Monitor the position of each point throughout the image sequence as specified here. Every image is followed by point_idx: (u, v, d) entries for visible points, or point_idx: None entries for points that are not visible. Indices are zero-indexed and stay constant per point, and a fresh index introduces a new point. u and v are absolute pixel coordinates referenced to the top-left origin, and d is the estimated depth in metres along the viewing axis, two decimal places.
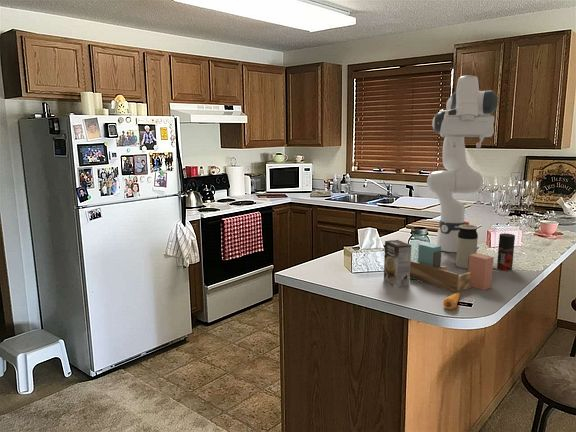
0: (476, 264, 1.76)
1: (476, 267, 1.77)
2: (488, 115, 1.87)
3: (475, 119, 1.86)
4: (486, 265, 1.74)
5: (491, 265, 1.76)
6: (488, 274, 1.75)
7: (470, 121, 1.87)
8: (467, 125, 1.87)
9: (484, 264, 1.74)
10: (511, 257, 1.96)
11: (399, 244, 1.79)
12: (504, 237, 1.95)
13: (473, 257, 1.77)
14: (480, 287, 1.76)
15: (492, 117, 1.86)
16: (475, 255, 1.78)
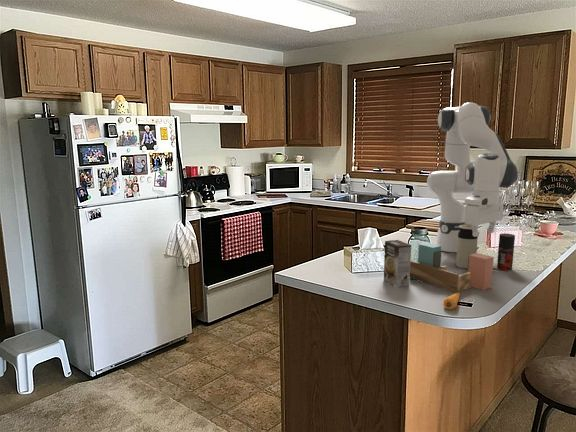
0: (476, 264, 1.76)
1: (476, 267, 1.77)
2: (498, 198, 1.77)
3: (494, 205, 1.74)
4: (486, 265, 1.74)
5: (491, 265, 1.76)
6: (488, 274, 1.75)
7: (491, 208, 1.73)
8: (489, 213, 1.73)
9: (484, 264, 1.74)
10: (511, 257, 1.96)
11: (399, 244, 1.79)
12: (504, 237, 1.95)
13: (473, 257, 1.77)
14: (480, 287, 1.76)
15: (500, 200, 1.78)
16: (475, 255, 1.78)
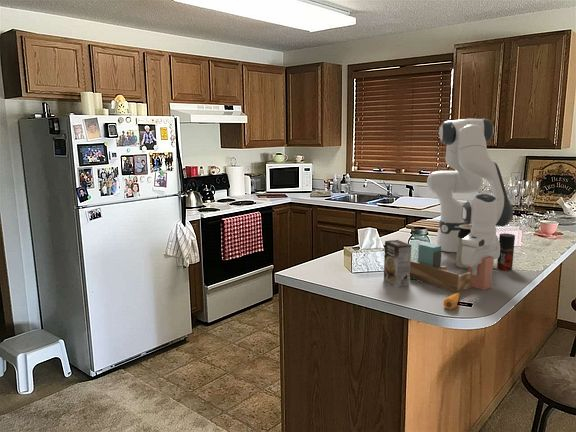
0: None
1: None
2: (495, 237, 1.80)
3: (491, 245, 1.77)
4: (486, 265, 1.74)
5: (491, 265, 1.76)
6: (488, 274, 1.75)
7: None
8: (486, 252, 1.75)
9: (484, 264, 1.74)
10: (511, 257, 1.96)
11: (399, 244, 1.79)
12: (504, 237, 1.95)
13: None
14: (480, 287, 1.76)
15: (497, 238, 1.81)
16: None
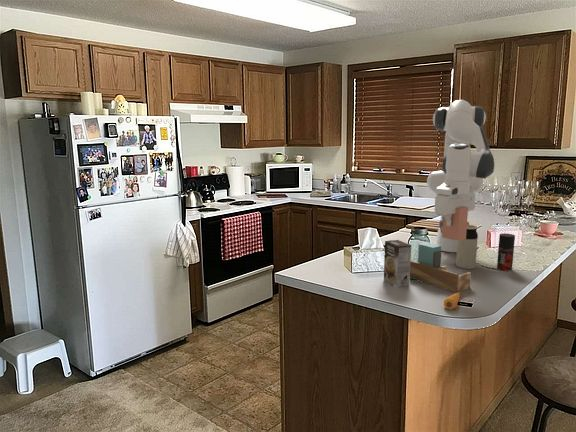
0: None
1: None
2: (470, 188, 1.77)
3: (465, 195, 1.74)
4: (460, 215, 1.71)
5: (465, 215, 1.73)
6: (462, 224, 1.72)
7: (462, 198, 1.73)
8: (460, 203, 1.72)
9: (458, 214, 1.71)
10: (511, 257, 1.96)
11: (399, 244, 1.79)
12: (504, 237, 1.95)
13: None
14: (454, 238, 1.73)
15: (472, 190, 1.78)
16: None
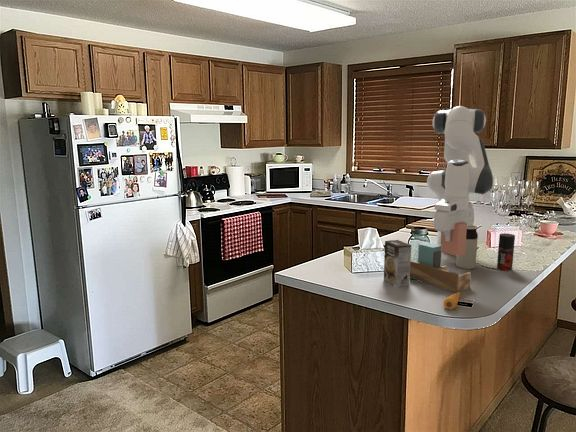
0: None
1: None
2: (469, 204, 1.78)
3: (464, 211, 1.75)
4: (459, 230, 1.72)
5: (464, 231, 1.74)
6: (461, 240, 1.73)
7: (461, 213, 1.74)
8: (459, 218, 1.74)
9: (457, 229, 1.72)
10: (511, 257, 1.96)
11: (399, 244, 1.79)
12: (504, 237, 1.95)
13: None
14: (453, 253, 1.74)
15: (471, 205, 1.79)
16: None
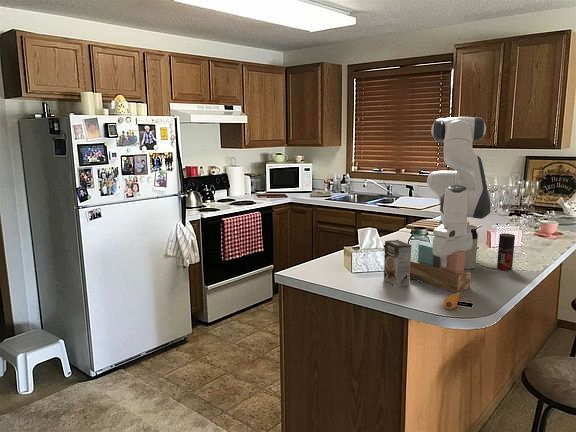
0: (448, 258, 1.77)
1: None
2: (468, 228, 1.80)
3: (462, 236, 1.77)
4: (457, 259, 1.74)
5: (462, 259, 1.76)
6: (459, 268, 1.75)
7: (459, 238, 1.76)
8: (457, 243, 1.75)
9: (455, 258, 1.74)
10: (511, 257, 1.96)
11: (399, 244, 1.79)
12: (504, 237, 1.95)
13: None
14: None
15: (470, 230, 1.81)
16: None
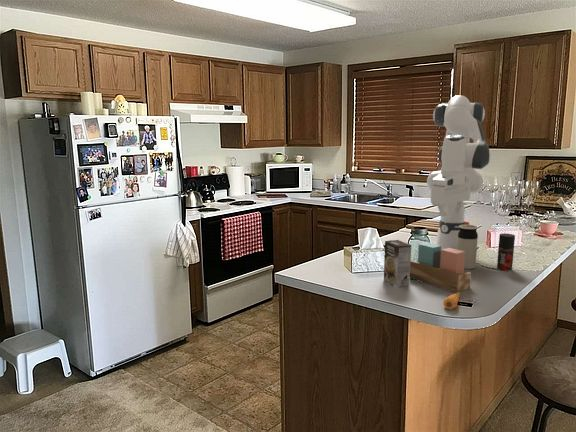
0: (448, 258, 1.77)
1: (447, 262, 1.77)
2: (465, 179, 1.81)
3: (460, 186, 1.78)
4: (457, 259, 1.74)
5: (462, 259, 1.76)
6: (459, 268, 1.75)
7: (457, 188, 1.77)
8: (455, 193, 1.77)
9: (455, 258, 1.74)
10: (511, 257, 1.96)
11: (399, 244, 1.79)
12: (504, 237, 1.95)
13: (445, 252, 1.77)
14: None
15: (467, 180, 1.83)
16: (447, 250, 1.78)
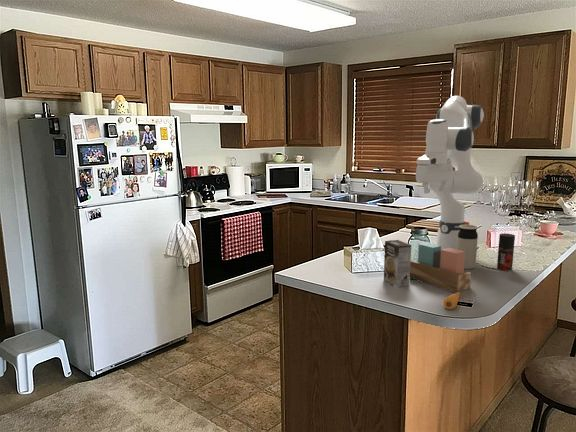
0: (448, 258, 1.77)
1: (447, 262, 1.77)
2: (448, 160, 1.98)
3: (443, 166, 1.94)
4: (457, 259, 1.74)
5: (462, 259, 1.76)
6: (459, 268, 1.75)
7: (440, 168, 1.93)
8: (439, 172, 1.93)
9: (455, 258, 1.74)
10: (511, 257, 1.96)
11: (399, 244, 1.79)
12: (504, 237, 1.95)
13: (445, 252, 1.77)
14: None
15: (450, 162, 1.99)
16: (447, 250, 1.78)
